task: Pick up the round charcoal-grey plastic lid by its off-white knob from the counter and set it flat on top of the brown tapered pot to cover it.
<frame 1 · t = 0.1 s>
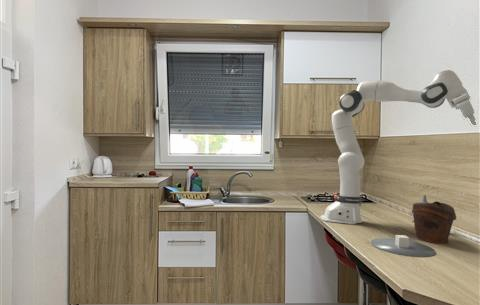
hand: (474, 125, 157), 54 cm above the counter, tool tilted 30°, fingers open, 8 cm apart
squeeze bottle: (422, 229, 175), on the counter
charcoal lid: (401, 248, 139), on the counter
brown tapered pot: (431, 239, 155), on the counter
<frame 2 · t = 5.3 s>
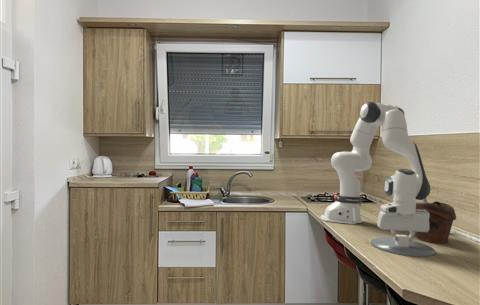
hand: (402, 241, 139), 3 cm above the counter, tool pointing down, fingers closed on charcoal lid, 4 cm apart
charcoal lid: (401, 247, 139), on the counter, touching gripper
everything else where it was.
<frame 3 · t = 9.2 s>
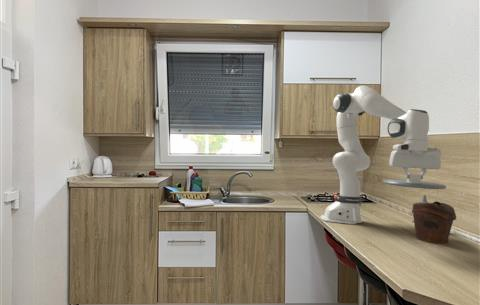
hand: (413, 178, 143), 29 cm above the counter, tool pointing down, fingers closed on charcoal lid, 4 cm apart
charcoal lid: (413, 185, 143), point 26 cm above the counter, touching gripper
everything else where it was.
when the fingers open (22 cm above the counter, at t = 12.3 s): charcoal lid drops 2 cm, resting on brown tapered pot.
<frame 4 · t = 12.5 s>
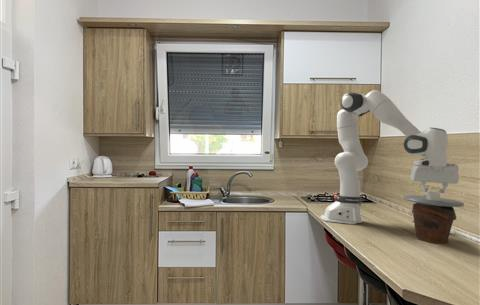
hand: (433, 192, 154), 22 cm above the counter, tool pointing down, fingers open, 6 cm apart
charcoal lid: (432, 201, 154), point 18 cm above the counter, touching brown tapered pot
brown tapered pot: (431, 239, 155), on the counter, touching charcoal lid
everything else where it was.
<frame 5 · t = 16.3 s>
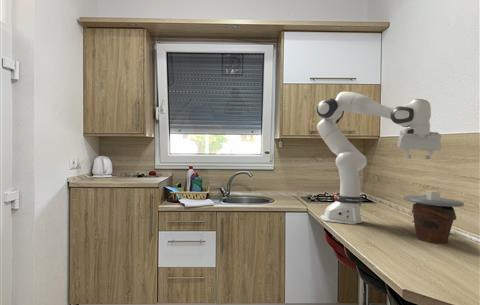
hand: (418, 158, 167), 37 cm above the counter, tool pointing down, fingers open, 8 cm apart
nothing on the counter moved.
at the end: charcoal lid 0.4 cm from the brown tapered pot (horizontally); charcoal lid point 17.5 cm above the counter; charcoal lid tilted 0° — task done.
